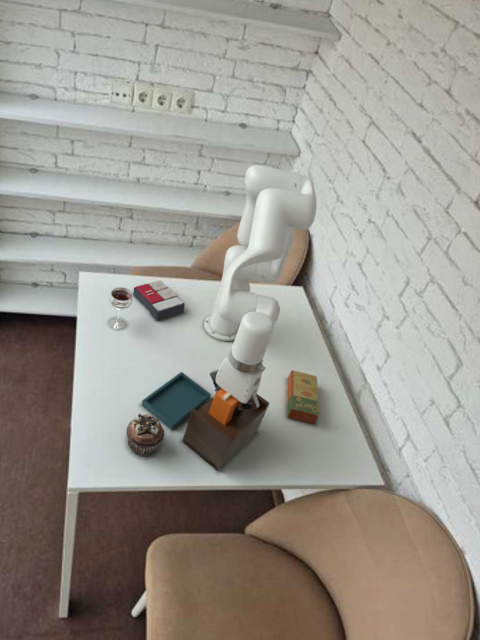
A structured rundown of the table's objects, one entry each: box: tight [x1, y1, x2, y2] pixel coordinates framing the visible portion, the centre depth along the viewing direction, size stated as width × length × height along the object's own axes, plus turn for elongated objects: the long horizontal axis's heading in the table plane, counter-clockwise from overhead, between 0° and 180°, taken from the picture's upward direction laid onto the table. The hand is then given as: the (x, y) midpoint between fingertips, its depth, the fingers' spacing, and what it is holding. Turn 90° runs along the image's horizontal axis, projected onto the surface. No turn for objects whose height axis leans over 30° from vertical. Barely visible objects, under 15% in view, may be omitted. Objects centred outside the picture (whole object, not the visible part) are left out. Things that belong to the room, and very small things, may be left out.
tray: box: [141, 371, 212, 431], centre depth 149 cm, size 17×11×2 cm
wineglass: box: [109, 286, 134, 330], centre depth 166 cm, size 7×7×12 cm
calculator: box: [132, 279, 186, 321], centre depth 180 cm, size 11×4×15 cm
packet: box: [209, 388, 238, 426], centre depth 135 cm, size 8×5×8 cm, turn 140°
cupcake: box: [125, 413, 165, 457], centre depth 134 cm, size 10×10×10 cm
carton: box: [286, 369, 320, 425], centre depth 158 cm, size 8×16×4 cm, turn 171°
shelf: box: [181, 393, 270, 472], centre depth 139 cm, size 18×12×12 cm, turn 140°
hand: (227, 408), depth 137 cm, fingers closed on packet, 5 cm apart
